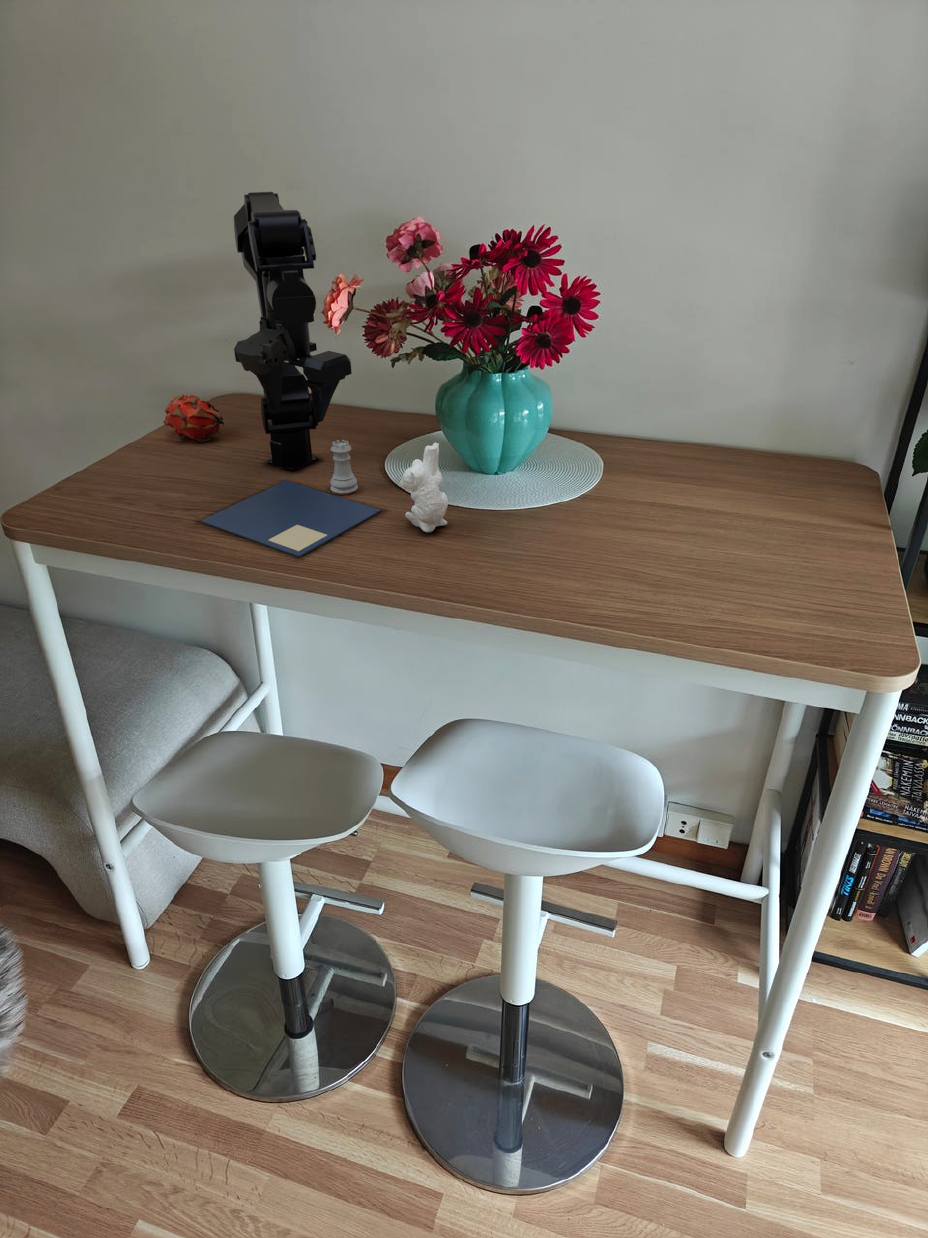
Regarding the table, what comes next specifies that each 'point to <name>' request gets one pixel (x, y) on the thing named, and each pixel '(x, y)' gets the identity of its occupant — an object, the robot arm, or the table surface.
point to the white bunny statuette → (426, 491)
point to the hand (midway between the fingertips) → (297, 415)
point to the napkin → (291, 518)
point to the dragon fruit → (192, 417)
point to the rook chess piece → (342, 470)
